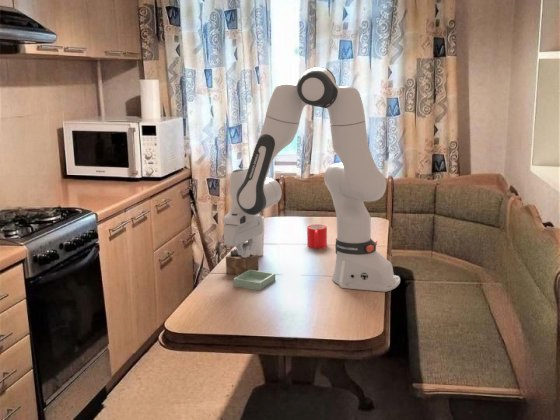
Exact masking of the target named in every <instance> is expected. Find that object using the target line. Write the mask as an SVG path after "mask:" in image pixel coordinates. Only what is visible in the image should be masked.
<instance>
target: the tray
mask: <svg viewBox="0 0 560 420" xmlns="http://www.w3.org/2000/svg"><path fill="white" fill-rule="evenodd" d="M232 280H233V282H232V283H233V286H234V287H238V288H239V287H240V288H244V289H249V290H256V291H262V290H263V289H265V288H266V287H268V286H269V285H271V284H273V283H274V282H275V281H276V273H274V272H268V271H261V270H258V271H256V270H250V269H249V270H248V271H246V272H244V273H242V274H241V275H237V276H235V277H234V278H233V279H232Z"/></svg>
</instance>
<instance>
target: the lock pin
mask: <svg viewBox="0 0 560 420" xmlns="http://www.w3.org/2000/svg"><path fill="white" fill-rule="evenodd" d="M242 248H243V249H244V254H243V255H241V258H247V259H248V258H250V243H248V241H246V242H244V243H243V246H242Z"/></svg>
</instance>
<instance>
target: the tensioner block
mask: <svg viewBox="0 0 560 420" xmlns="http://www.w3.org/2000/svg"><path fill="white" fill-rule="evenodd" d="M229 253H230V254H229V255H226V256H225V269H226V270H225V271H226V273H227V274H232V275H237V276H239V275H241V274H242V273H244V272H246V271H248V270H249V269H250V270H256V271H259V256H258V254H252V253H250V258H248V259H247V258H241V255H238V250H237V248H235V249H234V248H233V249H232V250H230V252H229Z"/></svg>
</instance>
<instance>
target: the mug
mask: <svg viewBox="0 0 560 420" xmlns="http://www.w3.org/2000/svg"><path fill="white" fill-rule="evenodd" d="M306 228H307V230H306V232H307V233H306V235H307V247H308V248H311V249H324V248H327V245H328V233H327V232H328V231H327V230H328V227H327V225H324V224H310V225H308V226H307V227H306Z"/></svg>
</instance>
